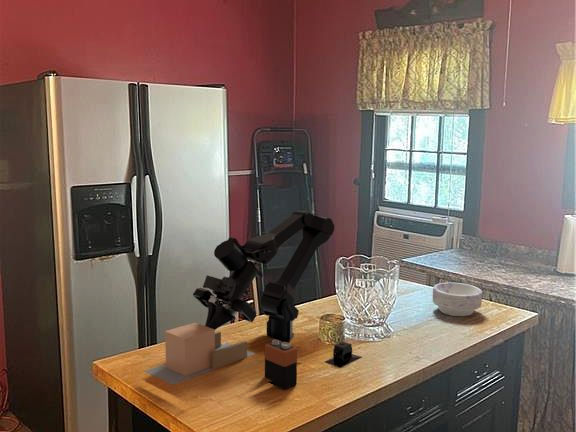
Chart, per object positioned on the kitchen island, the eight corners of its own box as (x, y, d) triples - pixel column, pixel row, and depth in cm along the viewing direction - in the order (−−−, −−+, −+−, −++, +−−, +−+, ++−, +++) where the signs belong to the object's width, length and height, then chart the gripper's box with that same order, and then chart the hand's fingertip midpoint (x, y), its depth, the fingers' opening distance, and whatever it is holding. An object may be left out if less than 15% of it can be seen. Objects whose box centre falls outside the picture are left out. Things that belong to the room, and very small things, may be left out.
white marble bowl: (479, 322, 187) (480, 297, 186) (428, 316, 192) (429, 291, 191) (482, 308, 201) (484, 284, 200) (435, 303, 206) (436, 280, 205)
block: (195, 356, 154) (194, 322, 153) (214, 364, 149) (214, 329, 148) (165, 367, 148) (165, 331, 147) (185, 375, 143) (184, 338, 142)
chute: (227, 347, 165) (226, 328, 164) (255, 358, 157) (255, 338, 156) (144, 375, 146) (144, 354, 145) (172, 389, 138) (172, 367, 138)
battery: (284, 390, 138) (284, 348, 137) (263, 381, 143) (263, 340, 142) (297, 385, 141) (298, 343, 140) (277, 376, 146) (277, 336, 145)
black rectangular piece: (345, 351, 164) (346, 335, 163) (368, 358, 159) (369, 341, 158) (316, 365, 155) (316, 347, 154) (339, 373, 150) (340, 355, 149)
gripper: (198, 257, 159) (163, 307, 152) (248, 269, 146) (212, 324, 140) (221, 281, 166) (189, 330, 159) (270, 295, 153) (237, 349, 147)
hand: (205, 332), depth 151 cm, fingers closed, pressing on block
